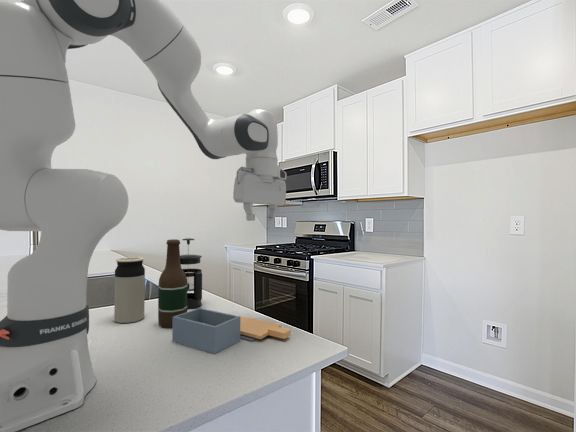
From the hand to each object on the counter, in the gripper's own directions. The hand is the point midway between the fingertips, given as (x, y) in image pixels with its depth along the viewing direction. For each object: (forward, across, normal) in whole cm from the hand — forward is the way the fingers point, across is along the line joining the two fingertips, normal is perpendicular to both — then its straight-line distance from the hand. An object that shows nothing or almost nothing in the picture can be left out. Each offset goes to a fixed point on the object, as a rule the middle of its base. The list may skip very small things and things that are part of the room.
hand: (261, 220), depth 89 cm
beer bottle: (+30, -11, +23) cm, 39 cm away
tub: (+30, -14, +6) cm, 34 cm away
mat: (+30, -4, +3) cm, 30 cm away
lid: (+29, -3, -1) cm, 30 cm away
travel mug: (+30, -15, +37) cm, 50 cm away
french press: (+30, +4, +33) cm, 45 cm away
